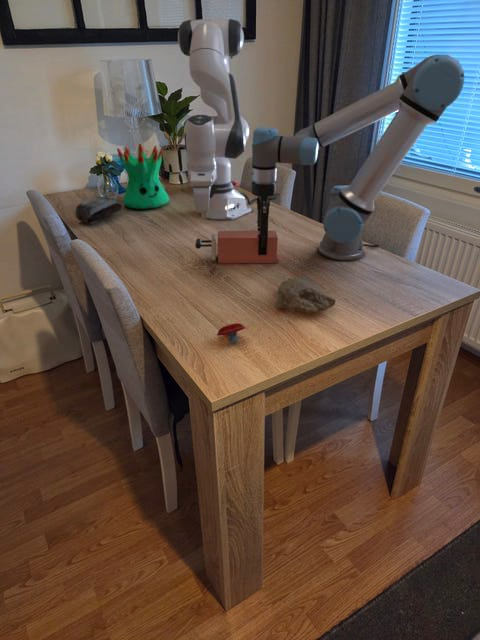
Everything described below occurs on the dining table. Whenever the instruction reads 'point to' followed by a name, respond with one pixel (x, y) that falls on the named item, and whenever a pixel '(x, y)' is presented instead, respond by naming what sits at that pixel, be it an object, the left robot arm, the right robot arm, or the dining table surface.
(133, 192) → the toy
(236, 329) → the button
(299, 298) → the artifact
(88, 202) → the rock
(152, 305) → the dining table surface
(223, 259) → the cabinet
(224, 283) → the dining table surface
